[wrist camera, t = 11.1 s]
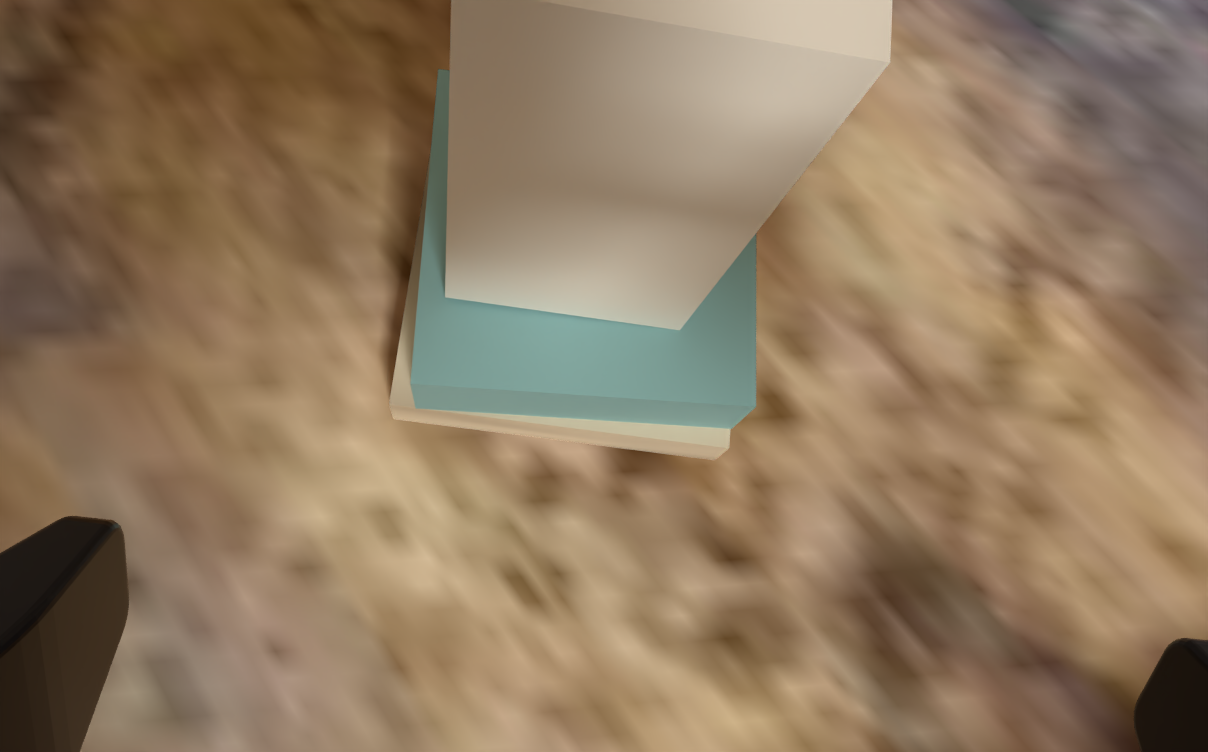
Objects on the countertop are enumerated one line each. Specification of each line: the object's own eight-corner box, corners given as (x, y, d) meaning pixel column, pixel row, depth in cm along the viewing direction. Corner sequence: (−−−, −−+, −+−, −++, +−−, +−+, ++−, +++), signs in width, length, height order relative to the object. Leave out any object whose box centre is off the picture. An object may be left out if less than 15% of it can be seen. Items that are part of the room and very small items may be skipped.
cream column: (679, 330, 21) (889, 62, 11) (445, 296, 20) (451, -16, 10) (697, 118, 22) (903, -292, 12) (475, 82, 21) (506, -377, 12)
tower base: (708, 465, 24) (728, 448, 22) (395, 425, 24) (388, 404, 22) (730, 181, 26) (751, 144, 24) (441, 138, 25) (439, 95, 24)
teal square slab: (731, 428, 22) (755, 407, 20) (415, 408, 22) (410, 384, 20) (733, 145, 24) (756, 100, 22) (441, 117, 23) (438, 68, 21)
